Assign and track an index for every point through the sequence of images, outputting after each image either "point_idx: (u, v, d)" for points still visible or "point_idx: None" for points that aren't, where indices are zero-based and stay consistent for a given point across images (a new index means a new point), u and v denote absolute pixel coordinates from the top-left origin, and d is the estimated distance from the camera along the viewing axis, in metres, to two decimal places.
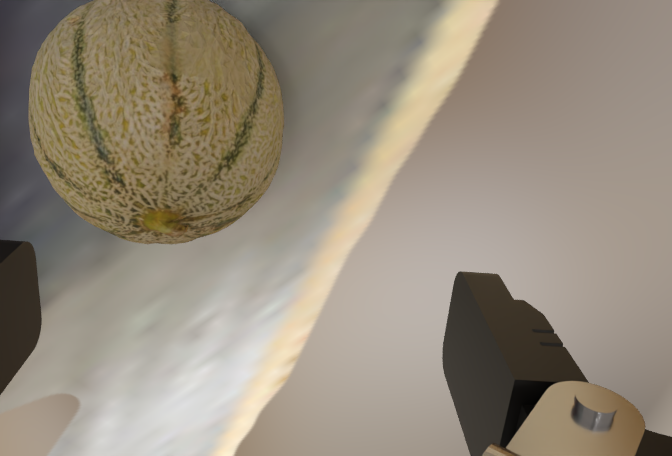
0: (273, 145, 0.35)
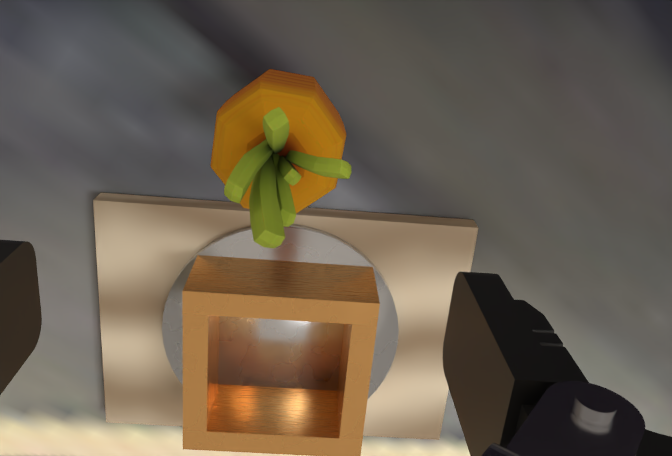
0: None
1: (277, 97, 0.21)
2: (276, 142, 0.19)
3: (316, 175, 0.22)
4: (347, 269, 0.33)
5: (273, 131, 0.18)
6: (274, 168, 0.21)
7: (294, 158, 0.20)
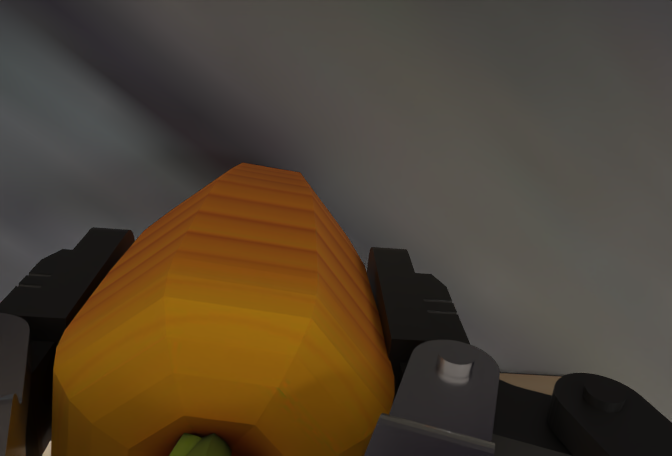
0: None
1: (212, 323, 0.08)
2: None
3: None
4: None
5: None
6: None
7: None
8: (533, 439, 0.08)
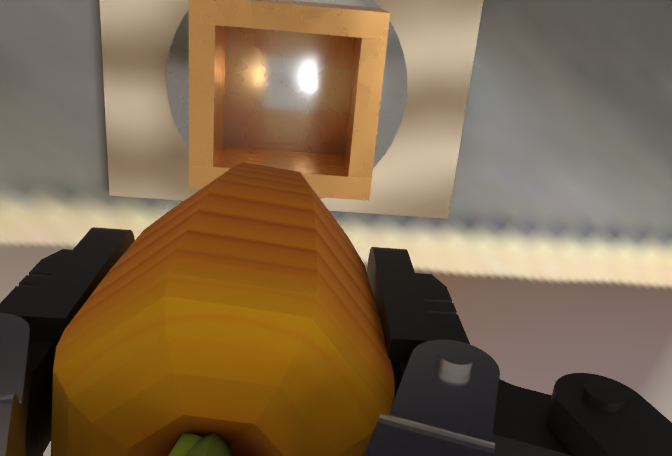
0: None
1: (211, 321, 0.07)
2: None
3: None
4: (355, 6, 0.32)
5: None
6: None
7: None
8: (533, 439, 0.08)
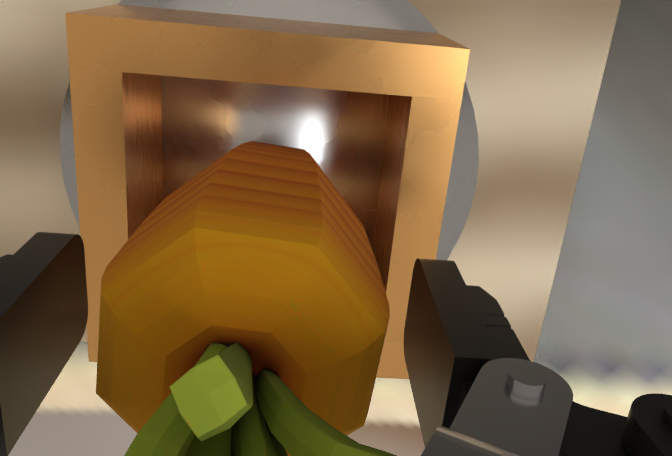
0: None
1: (234, 249, 0.09)
2: None
3: (327, 414, 0.10)
4: (393, 30, 0.18)
5: (200, 437, 0.06)
6: None
7: (273, 420, 0.08)
8: None
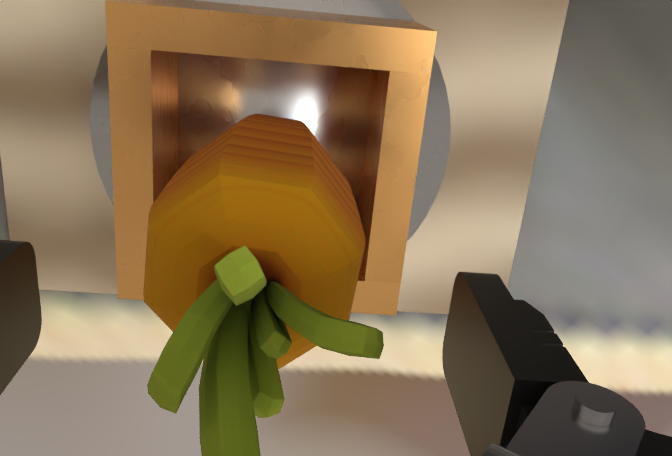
0: None
1: (249, 190, 0.12)
2: (243, 301, 0.10)
3: None
4: (376, 18, 0.21)
5: (234, 296, 0.09)
6: (245, 314, 0.12)
7: (278, 307, 0.11)
8: None
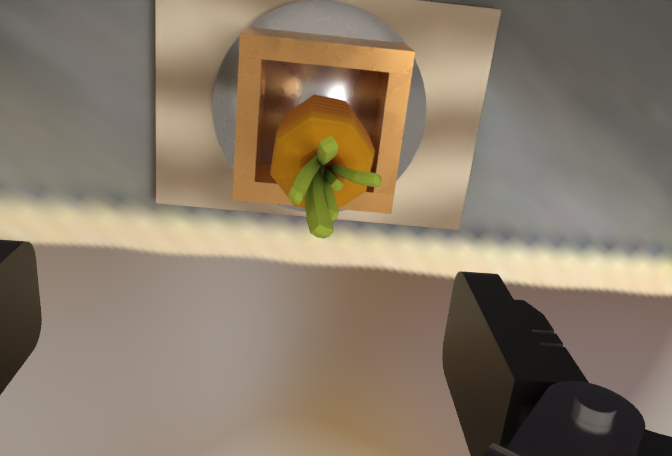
0: None
1: (324, 123, 0.28)
2: (327, 160, 0.25)
3: (352, 182, 0.28)
4: (383, 41, 0.36)
5: (326, 154, 0.24)
6: (322, 177, 0.28)
7: (338, 170, 0.27)
8: None
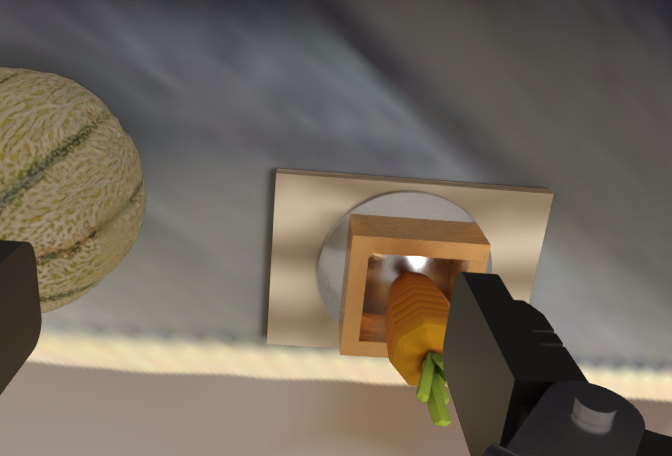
0: (54, 309, 0.38)
1: (435, 328, 0.36)
2: None
3: None
4: (459, 224, 0.45)
5: None
6: (434, 370, 0.36)
7: None
8: None
